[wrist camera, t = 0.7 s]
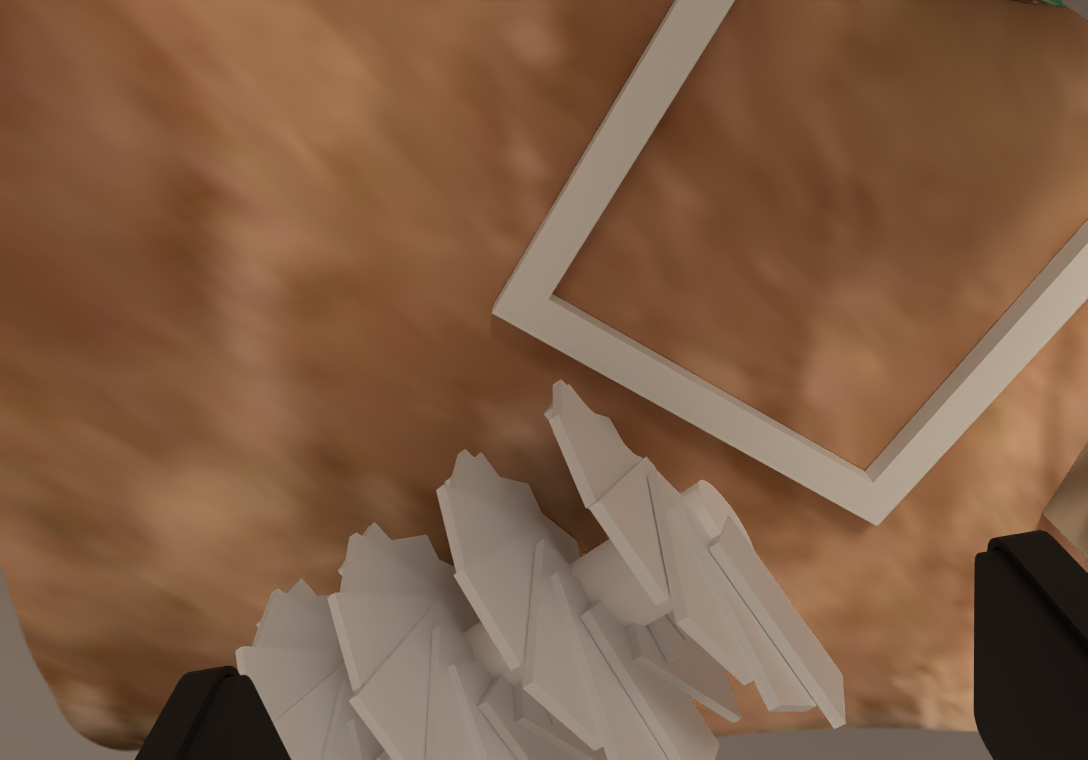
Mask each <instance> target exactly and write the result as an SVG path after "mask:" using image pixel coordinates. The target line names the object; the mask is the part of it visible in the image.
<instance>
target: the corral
mask: <svg viewBox="0 0 1088 760" xmlns="http://www.w3.org/2000/svg"><path fill="white" fill-rule="evenodd" d="M734 1H735V0H674V2H673V4H672V6H671V7H670V9H669V11H668V12H667V14H666V16H665V17H664V19H663V21H662V22H661V24H660V26H659V27H658V29H657V31H656V32H655V34H654V36H653V37H652V39H651V41H650V42H649V44H648V46H647V48H646V49H645V51H644V53H643V54H642V56H641V58H640V59H639V61H638V63H637V64H636V66H635V68H634V69H633V71H632V73H631V74H630V76H629V78H628V79H627V81H626V83H625V85H624V86H623V88H622V90H621V91H620V93H619V95H618V96H617V98H616V100H615V101H614V103H613V105H612V106H611V108H610V110H609V111H608V113H607V115H606V116H605V118H604V120H603V121H602V123H601V125H600V127H599V128H598V130H597V132H596V133H595V135H594V137H593V138H592V140H591V142H590V143H589V145H588V147H587V148H586V150H585V152H584V153H583V155H582V157H581V158H580V160H579V162H578V164H577V165H576V167H575V169H574V170H573V172H572V174H571V175H570V177H569V179H568V180H567V182H566V184H565V185H564V187H563V189H562V190H561V192H560V194H559V195H558V197H557V199H556V200H555V202H554V204H553V206H552V207H551V209H550V211H549V212H548V214H547V216H546V217H545V219H544V221H543V222H542V224H541V226H540V227H539V229H538V231H537V232H536V234H535V236H534V237H533V239H532V241H531V242H530V244H529V246H528V248H527V249H526V251H525V253H524V254H523V256H522V258H521V259H520V261H519V263H518V264H517V266H516V268H515V269H514V271H513V273H512V274H511V276H510V278H509V279H508V281H507V283H506V285H505V286H504V288H503V290H502V291H501V293H500V295H499V296H498V298H497V300H496V301H495V303H494V305H493V309H492V314H494V315H496V316H498V317H500V318H501V319H503V320H505V321H507V322H509V323H510V324H512V325H514V326H516V327H518V328H519V329H521V330H523V331H525V332H527V333H528V334H530V335H532V336H534V337H536V338H538V339H539V340H541V341H543V342H545V343H547V344H548V345H550V346H552V347H554V348H556V349H557V350H559V351H561V352H563V353H565V354H566V355H568V356H570V357H572V358H574V359H576V360H577V361H579V362H581V363H583V364H585V365H586V366H588V367H590V368H592V369H594V370H595V371H597V372H599V373H601V374H603V375H604V376H606V377H608V378H610V379H612V380H613V381H615V382H617V383H619V384H621V385H623V386H624V387H626V388H628V389H630V390H632V391H633V392H635V393H637V394H639V395H641V396H642V397H644V398H646V399H648V400H650V401H651V402H653V403H655V404H657V405H659V406H660V407H662V408H664V409H666V410H668V411H670V412H671V413H673V414H675V415H677V416H679V417H680V418H682V419H684V420H686V421H688V422H689V423H691V424H693V425H695V426H697V427H698V428H700V429H702V430H704V431H706V432H707V433H709V434H711V435H713V436H715V437H717V438H718V439H720V440H722V441H724V442H726V443H727V444H729V445H731V446H733V447H735V448H736V449H738V450H740V451H742V452H744V453H745V454H747V455H749V456H751V457H753V458H755V459H756V460H758V461H760V462H762V463H764V464H765V465H767V466H769V467H771V468H773V469H774V470H776V471H778V472H780V473H782V474H783V475H785V476H787V477H789V478H791V479H792V480H794V481H796V482H798V483H800V484H802V485H803V486H805V487H807V488H809V489H811V490H812V491H814V492H816V493H818V494H820V495H821V496H823V497H825V498H827V499H829V500H830V501H832V502H834V503H836V504H838V505H839V506H841V507H843V508H845V509H847V510H849V511H850V512H852V513H854V514H856V515H858V516H859V517H861V518H863V519H865V520H867V521H868V522H870V523H872V524H874V525H876V526H878V525H879V524H880V523H881V522H882V521H883V520H884V519H885V518H886V516H887V515H888V514H889V513H890V512H891V511H892V510H893V509H894V508H895V507H896V506H897V504H898V503H899V502H900V501H901V500H902V499H903V498H904V497H905V496H906V495H907V494H908V493H909V491H910V490H911V489H912V488H913V487H914V486H915V485H916V484H917V483H918V482H919V481H920V480H921V478H922V477H923V476H924V475H925V474H926V473H927V472H928V471H929V470H930V469H931V468H932V467H933V465H934V464H935V463H936V462H937V461H938V460H939V459H940V458H941V457H942V456H943V455H944V454H945V452H946V451H947V450H948V449H949V448H950V447H951V446H952V445H953V444H954V443H955V442H956V441H957V439H958V438H959V437H960V436H961V435H962V434H963V433H964V432H965V431H966V430H967V429H968V428H969V426H970V425H971V424H972V423H973V422H974V421H975V420H976V419H977V418H978V417H979V416H980V414H981V413H982V412H983V411H984V410H985V409H986V408H987V407H988V406H989V405H990V404H991V403H992V401H993V400H994V399H995V398H996V397H997V396H998V395H999V394H1000V393H1001V392H1002V391H1003V390H1004V388H1005V387H1006V386H1007V385H1008V384H1009V383H1010V382H1011V381H1012V380H1013V379H1014V378H1015V377H1016V375H1017V374H1018V373H1019V372H1020V371H1021V370H1022V369H1023V368H1024V367H1025V366H1026V365H1027V364H1028V362H1029V361H1030V360H1031V359H1032V358H1033V357H1034V356H1035V355H1036V354H1037V353H1038V352H1039V351H1040V349H1041V348H1042V347H1043V346H1044V345H1045V344H1046V343H1047V342H1048V341H1049V340H1050V339H1051V337H1052V336H1053V335H1054V334H1055V333H1056V332H1057V331H1058V330H1059V329H1060V328H1061V327H1062V326H1063V324H1064V323H1065V322H1066V321H1067V320H1068V319H1069V318H1070V317H1071V316H1072V315H1073V314H1074V313H1075V311H1076V310H1077V309H1078V308H1079V307H1080V306H1081V305H1082V304H1083V303H1084V302H1085V301H1086V300H1087V298H1088V219H1087V221H1086V222H1085V223H1084V224H1083V225H1082V226H1081V227H1080V228H1079V230H1078V231H1077V232H1076V233H1075V234H1074V235H1073V236H1072V237H1071V239H1070V240H1069V241H1068V242H1067V243H1066V244H1065V245H1064V247H1063V248H1062V249H1061V250H1060V251H1059V252H1058V253H1057V254H1056V256H1055V257H1054V258H1053V259H1052V260H1051V261H1050V262H1049V264H1048V265H1047V266H1046V267H1045V268H1044V269H1043V270H1042V271H1041V273H1040V274H1039V275H1038V276H1037V277H1036V278H1035V279H1034V281H1033V282H1032V283H1031V284H1030V285H1029V286H1028V287H1027V288H1026V290H1025V291H1024V292H1023V293H1022V294H1021V295H1020V296H1019V297H1018V299H1017V300H1016V301H1015V302H1014V303H1013V304H1012V305H1011V307H1010V308H1009V309H1008V310H1007V311H1006V312H1005V313H1004V314H1003V316H1002V317H1001V318H1000V319H999V320H998V321H997V322H996V324H995V325H994V326H993V327H992V328H991V329H990V330H989V331H988V333H987V334H986V335H985V336H984V337H983V338H982V339H981V340H980V342H979V343H978V344H977V345H976V346H975V347H974V348H973V350H972V351H971V352H970V353H969V354H968V355H967V356H966V357H965V359H964V360H963V361H962V362H961V363H960V364H959V365H958V367H957V368H956V369H955V370H954V371H953V372H952V373H951V374H950V376H949V377H948V378H947V379H946V380H945V381H944V382H943V384H942V385H941V386H940V387H939V388H938V389H937V390H936V391H935V393H934V394H933V395H932V396H931V397H930V398H929V399H928V400H927V402H926V403H925V404H924V405H923V406H922V407H921V408H920V410H919V411H918V412H917V413H916V414H915V415H914V416H913V417H912V419H911V420H910V421H909V422H908V423H907V424H906V425H905V427H904V428H903V429H902V430H901V431H900V432H899V433H898V434H897V436H896V437H895V438H894V439H893V440H892V441H891V442H890V443H889V445H888V446H887V447H886V448H885V449H884V450H883V451H882V453H881V454H880V455H879V456H878V457H877V458H876V459H875V460H874V462H873V463H872V464H871V465H870V466H869V467H868V468H867V470H866V471H863V470H861V469H860V468H858V467H856V466H854V465H853V464H851V463H849V462H847V461H845V460H844V459H842V458H840V457H838V456H837V455H835V454H833V453H831V452H830V451H828V450H826V449H824V448H823V447H821V446H819V445H817V444H816V443H814V442H812V441H810V440H809V439H807V438H805V437H803V436H802V435H800V434H798V433H796V432H795V431H793V430H791V429H789V428H787V427H786V426H784V425H782V424H780V423H779V422H777V421H775V420H773V419H772V418H770V417H768V416H766V415H765V414H763V413H761V412H759V411H758V410H756V409H754V408H752V407H751V406H749V405H747V404H745V403H744V402H742V401H740V400H738V399H737V398H735V397H733V396H731V395H729V394H728V393H726V392H724V391H722V390H721V389H719V388H717V387H715V386H714V385H712V384H710V383H708V382H707V381H705V380H703V379H701V378H700V377H698V376H696V375H694V374H693V373H691V372H689V371H687V370H686V369H684V368H682V367H680V366H679V365H677V364H675V363H673V362H671V361H670V360H668V359H666V358H664V357H663V356H661V355H659V354H657V353H656V352H654V351H652V350H650V349H649V348H647V347H645V346H643V345H642V344H640V343H638V342H636V341H635V340H633V339H631V338H629V337H628V336H626V335H624V334H622V333H620V332H619V331H617V330H615V329H613V328H612V327H610V326H608V325H606V324H605V323H603V322H601V321H599V320H598V319H596V318H594V317H592V316H591V315H589V314H587V313H585V312H584V311H582V310H580V309H578V308H577V307H575V306H573V305H571V304H570V303H568V302H566V301H564V300H562V299H561V298H559V297H557V296H555V295H554V294H552V293H553V291H554V290H555V288H556V286H557V285H558V283H559V282H560V280H561V278H562V277H563V275H564V274H565V272H566V270H567V269H568V267H569V266H570V264H571V262H572V261H573V259H574V258H575V256H576V254H577V253H578V251H579V250H580V248H581V246H582V245H583V243H584V242H585V240H586V238H587V237H588V235H589V234H590V232H591V230H592V229H593V227H594V226H595V224H596V222H597V221H598V219H599V218H600V216H601V214H602V213H603V211H604V210H605V208H606V206H607V205H608V203H609V201H610V200H611V198H612V197H613V195H614V193H615V192H616V190H617V189H618V187H619V185H620V184H621V182H622V181H623V179H624V177H625V176H626V174H627V173H628V171H629V169H630V168H631V166H632V165H633V163H634V161H635V160H636V158H637V157H638V155H639V153H640V152H641V150H642V149H643V147H644V145H645V144H646V142H647V141H648V139H649V137H650V136H651V134H652V133H653V131H654V129H655V128H656V126H657V125H658V123H659V121H660V120H661V118H662V117H663V115H664V113H665V112H666V110H667V108H668V107H669V105H670V104H671V102H672V100H673V99H674V97H675V96H676V94H677V92H678V91H679V89H680V88H681V86H682V84H683V83H684V81H685V80H686V78H687V76H688V75H689V73H690V72H691V70H692V68H693V67H694V65H695V64H696V62H697V60H698V59H699V57H700V56H701V54H702V52H703V51H704V49H705V48H706V46H707V44H708V43H709V41H710V40H711V38H712V36H713V35H714V33H715V32H716V30H717V28H718V27H719V25H720V24H721V22H722V20H723V19H724V17H725V15H726V14H727V12H728V11H729V9H730V7H731V6H732V4H733V3H734Z"/></svg>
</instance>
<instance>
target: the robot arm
mask: <svg viewBox="0 0 1088 760" xmlns="http://www.w3.org/2000/svg"><path fill="white" fill-rule="evenodd" d="M974 716H975V721H976V725H977V728H978V731H979V733H980V735H981V738H982V740H983V742H984V744H985V746H986V747H987V749H988V751H989V752H990V754H991V756H992V758H993V759H994V760H1088V573H1087V572H1086V571H1085V570H1084V569H1083V568H1082V567H1081V566H1080V565H1079V564H1078V563H1077V562H1076V561H1075V560H1074V559H1073V558H1072V557H1071V555H1070V554H1069V553H1068V552H1067V551H1066V550H1065V549H1064V548H1063V547H1062V546H1061V545H1060V544H1059V543H1058V542H1057V541H1056V540H1055V539H1054V538H1053V537H1052V536H1051V535H1050V534H1048V533H1047V532H1045V531H1042V530H1038V531H1032V532H1026V533H1020V534H1014V535H1008V536H1002V537H996V538H993V539H991V540H990V541H989V543H988V548H987V552H982V553H978V554H977V555H976V557H975V586H974ZM135 760H291V758H290V756H289V754H288V752H287V750H286V748H285V746H284V744H283V742H282V740H281V738H280V736H279V734H278V732H277V730H276V728H275V726H274V724H273V722H272V720H271V718H270V716H269V714H268V712H267V710H266V708H265V706H264V704H263V702H262V700H261V698H260V695H259V693H258V691H257V689H256V687H255V685H254V683H253V681H252V680H251V678H250V677H249V676H247V675H240V674H239V672H238V671H237V669H236V668H234V667H232V666H223V667H217V668H211V669H205V670H199V671H193V672H188V673H187V674H185V675H183V677H182V678H181V679H180V681H179V682H178V684H177V685H176V687H175V689H174V691H173V693H172V694H171V696H170V698H169V700H168V701H167V703H166V705H165V707H164V708H163V710H162V712H161V714H160V716H159V717H158V719H157V721H156V723H155V724H154V726H153V728H152V730H151V732H150V733H149V735H148V737H147V739H146V740H145V742H144V744H143V746H142V748H141V749H140V751H139V753H138V755H137V756H136V759H135Z"/></svg>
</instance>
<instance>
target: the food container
mask: <svg viewBox="0 0 1088 760" xmlns="http://www.w3.org/2000/svg"><path fill="white" fill-rule="evenodd" d="M1012 1H1017V2H1022V3H1030V4H1039V5H1048V6H1058V7H1067V8H1069V9H1071V10H1072V11H1074V12H1075V13H1077V14H1078V15H1080V16H1081V17H1083V18H1084V19H1086V20H1087V21H1088V0H1012Z"/></svg>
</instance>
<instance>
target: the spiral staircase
mask: <svg viewBox="0 0 1088 760" xmlns="http://www.w3.org/2000/svg"><path fill="white" fill-rule="evenodd" d="M544 415H545V417H546V418H547V419H548V421H549V423H550V425H551V427H552V430H553V432H554V436H555V437H556V439H557V441H558V444H559V446H560V449H561V451H562V453H563V456H564V458H565V460H566V463H567V465H568V468H569V470H570V472H571V475H572V477H573V479H574V482H575V484H576V486H577V489H578V491H579V494H580V496H581V498H582V501H583V503H584V505H585V508H587V509H589V510H591V512H592V513H593V515H594V516H595V518H596V519H597V521H598V522H599V524H600V525H601V526H602V528H603V529H604V531H605V532H606V534H607V535H608V537H609V538H610V539H608V540H607V541H605V542H604V543H602V544H601V545H599V546H597V547H596V548H594V549H593V550H591V551H590V552H588V553H587V554H585V555H583V556H582V557H580V555H579V549H578V542H577V540H575V539H574V538H573V537H572V536H570V535H569V534H568V533H567V532H565V531H564V530H563V529H562V528H560V527H559V526H558V525H557V524H555V523H554V522H553V521H552V520H550V519H549V518H548V517H547V516H545V515H544V514H543V513H542V512H541V510H540V508H539V506H538V503H537V501H536V499H535V497H534V494H533V492H532V490H531V488H530V486H529V484H528V483H523V482H519V481H515V480H510V479H506V478H502V477H499V475H498V474H497V473H496V471H495V470H494V469H493V467H492V466H491V465H490V463H489V462H488V461H487V459H486V458H485V457H484V455H483V454H482V453H479V454H478V455H477V456H475V457H473V456H472V455H471V454H470V453H469V452H468V451H467V450H466V449H464V450H463V451H462V452H460V453H459V454H458V456H457V459H456V463H455V466H454V470H453V474H452V476H451V477H450V478H449V479H448V480H446V481H445V483H446V485H445V484H444V485H442V486H441V487H440V488H438V489H437V490H436V492H437V496H438V500H439V504H440V508H441V512H442V516H443V521H444V525H445V529H446V533H447V537H448V541H449V545H450V549H451V553H452V557H453V562H454V566H455V567H454V566H452V565H450V564H448V563H446V562H443V561H441V560H439V559H438V557H437V554H436V552H435V550H434V548H433V546H432V544H431V542H430V540H429V538H428V536H427V535H421V536H415V537H408V538H402V539H395V540H391V539H390V538H389V537H388V536H387V535H386V534H385V533H384V532H383V530H382V529H381V528H380V527H379V526H378V525H377V524H376V523H375V522H374V523H373V524H371V525H370V526H369V527H368V528H367V529H366V531H365V532H364V533H363V535H362V536H361V535H360V534H358V533H357V532H356V533H354V534H353V535H352V536H350V537H349V542H348V548H347V553H346V559H345V561H344V562H343V564H342V565H341V567H340V568H339V570H338V572H339V573H340V575H341V576H342V581H341V586H340V592H339V593H333V594H331V595H322V596H317V595H316V594H315V593H314V592H313V590H312V589H311V588H310V587H309V586H308V585H307V584H306V582H305V581H304V580H303V579H300V580H299V581H298V582H296V583H295V584H294V585H293V586H292V587H291V588H290V589H289V591H288V592H287V593H284V592H283V591H281V590H280V589H278V588H277V589H276V590H274V591H273V592H272V593H271V595H270V598H269V601H268V603H267V606H266V609H265V612H264V614H263V617H262V619H261V620H260V621H259V622H258V623H257V624H256V626H257V627H258V630H257V633H256V636H255V639H254V641H253V644H252V647H249V646H242V647H240V648H239V649H237V650H236V651H235V653H236V660H237V667H238V672H239V674H240V675H247V676H249V677H250V678H251V680H252V681H253V683H254V685H255V687H256V689H257V691H258V693H259V695H260V698H261V700H262V702H263V704H264V706H265V708H266V710H267V712H268V714H269V716H270V718H271V720H272V722H273V724H274V726H275V728H276V730H277V732H278V734H279V736H280V738H281V740H282V742H283V744H284V746H285V748H286V750H287V752H288V754H289V756H290V758H291V760H715V757H716V754H717V751H718V748H719V746H720V744H719V743H718V741H717V740H716V738H715V736H714V735H713V733H712V732H711V730H710V729H709V727H708V726H707V724H706V722H705V721H704V719H703V718H702V716H701V715H700V713H699V711H698V710H697V708H696V707H695V705H694V704H693V702H692V701H691V699H690V697H692V698H693V699H695V700H697V701H698V702H700V703H702V704H703V705H705V706H706V707H708V708H710V709H711V710H713V711H714V712H716V713H718V714H719V715H721V716H722V717H724V718H726V719H727V720H729V721H730V722H732V723H735V722H736V721H738V720H740V719H742V718H741V715H740V712H739V709H738V706H737V703H736V700H735V697H734V694H733V691H732V688H731V685H730V682H729V680H728V677H727V674H726V671H725V669H726V670H727V671H729V672H730V673H731V674H732V675H733V676H734V677H735V678H736V679H737V680H738V681H739V682H741V683H742V684H743V685H746V684H748V683H750V682H752V681H754V682H755V684H756V686H757V688H758V690H759V692H760V694H761V696H762V698H763V700H764V703H765V705H766V707H767V709H768V711H801V712H806V711H808V710H810V709H812V708H814V707H816V706H817V705H818V706H819V708H820V709H821V711H822V712H823V714H824V715H825V716H826V718H827V719H828V721H829V722H830V723H831V725H832V726H833V728H834V729H836V728H838V727H840V726H842V725H844V724H846V719H845V704H844V689H843V675H842V674H841V672H840V671H839V669H838V668H837V666H836V665H835V664H834V662H833V661H832V659H831V658H830V657H829V655H828V654H827V652H826V651H825V650H824V648H823V647H822V645H821V644H820V642H819V641H818V640H817V638H816V637H815V635H814V634H813V633H812V631H811V630H810V628H809V627H808V626H807V624H806V623H805V621H804V620H803V618H802V617H801V616H800V614H799V613H798V611H797V610H796V609H795V607H794V606H793V604H792V603H791V602H790V600H789V599H788V597H787V596H786V595H785V593H784V592H783V590H782V589H781V587H780V586H779V585H778V583H777V582H776V580H775V579H774V578H773V576H772V575H771V573H770V572H769V571H768V569H767V568H766V566H765V565H764V563H763V562H762V561H761V559H760V558H759V556H758V555H757V554H756V552H755V551H754V548H753V545H752V543H751V541H750V538H749V536H748V534H747V532H746V530H745V529H744V527H743V525H742V523H741V522H740V520H739V518H738V517H737V515H736V514H735V512H734V511H733V509H732V508H731V507H730V505H729V504H728V503H727V501H726V500H725V499H724V498H723V496H722V495H721V494H720V493H719V492H718V491H717V490H716V489H715V488H714V487H713V486H712V485H711V484H709V483H708V482H706V481H704V480H700V481H699V482H697V483H695V484H694V485H692V486H691V487H689V488H688V489H686V490H685V491H683V492H681V493H679V492H678V491H677V490H676V489H675V488H674V487H673V486H672V485H671V484H670V483H669V482H668V481H667V480H666V479H665V478H664V477H663V476H662V475H661V474H660V473H659V472H658V471H657V470H656V468H655V466H654V464H653V463H651V462H650V460H649V459H648V457H647V456H646V457H645V458H641V457H640V456H638V455H636V454H634V453H633V452H632V451H631V450H630V449H629V448H628V447H627V446H626V445H625V444H624V443H623V441H622V439H621V437H620V436H619V434H618V432H617V430H616V429H615V427H614V425H613V423H612V422H611V420H610V418H609V417H606V416H603V415H599V414H596V413H594V412H593V411H592V410H591V409H590V408H589V407H588V406H587V405H586V404H585V403H584V402H583V401H582V400H581V398H580V397H579V396H578V395H577V393H576V392H575V391H574V390H573V388H572V387H571V386H570V384H568V385H566V384H565V383H564V382H563V381H562V380H561V379H560V380H559V381H557V382H556V383H555V384H553V402H552V403H551V405H550V406H549V407H548V409H547V410H546V412H545V413H544ZM688 695H689V696H690V697H689V696H688ZM815 702H816V703H815ZM816 704H817V705H816Z"/></svg>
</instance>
